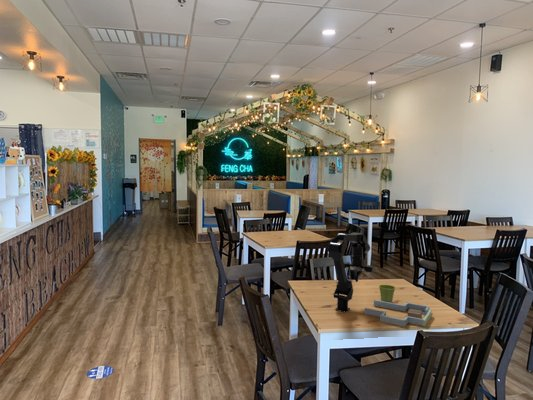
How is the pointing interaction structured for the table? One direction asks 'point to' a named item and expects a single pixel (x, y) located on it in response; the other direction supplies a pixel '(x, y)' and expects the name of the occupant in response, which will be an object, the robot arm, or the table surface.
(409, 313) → the block
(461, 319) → the table surface
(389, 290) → the plant pot
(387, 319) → the grey zigzag track
